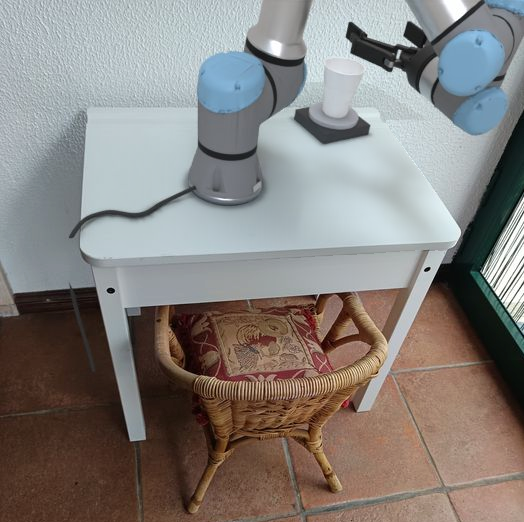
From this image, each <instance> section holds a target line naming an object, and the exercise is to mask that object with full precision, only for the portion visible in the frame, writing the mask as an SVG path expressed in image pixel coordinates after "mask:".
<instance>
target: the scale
mask: <svg viewBox="0 0 524 522" xmlns="http://www.w3.org/2000/svg"><path fill="white" fill-rule="evenodd" d="M322 107H323V101H318V102H314V103H313V104H311V105H310V106H308V107H302V108H296V109H295V111H294V118H293V119H294V120H295V121H296V122H297V123H298V124H299V125H300V126H301V127H303V128H304V129H305V130H306V131H308V132H309V133H310V134H311V135H312V136H313V137H314V138H315V139H317V140H318V141H319V142H320V143H321V144H323V145H325V144H330V143H335V142H339V141H344V140H348V139H353V138H357V137H358V138H359V137H363V136H367V135H369V133H370V129H371V124H370V123H369V122H367V121H366V120H365V119H363V118H362V117H361V116H359V114H358V112H357V111H356V110H355V109H353V108H352V107H350V108H349V111H348V113H347V115H346V116H345V117H343V118H331V117H328V116H327V115H325V114H324V112H323V110H322Z"/></svg>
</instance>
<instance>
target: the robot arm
mask: <svg viewBox="0 0 524 522" xmlns="http://www.w3.org/2000/svg"><path fill="white" fill-rule="evenodd" d="M404 1H405V2H406V4H407V6H408V7H409V9H410V11H411V13H412V14H413V16H414V18H415V20H416V21H417V23H418V25H419V26H418V25H416V23H414V22H412V21H411V20H408V21H406V25H405V28H404V32H403V35H402V37H403V38H404V39H406V40H407V41H409V42H410V43H411V44H413V45H414V46H407V45H405V44H400V43H397V44H395V45H393V44H390V43H387V42H384V41H380V40H378V39H373V38H371V37H369V36H368V33H366V31H364V30H363V29H361V28H360V27H359V26H358V25H356V24H355V23H354V22H353V21H348V23H347V28H346V32H345V39H346V40H348V41H349V43H351V46H350V51H349V54H350V55H352V56H355V57H358V58H359V59H362V60H364V61H367V62H368V63H371V64H373V65H375V66H376V67H377V66H378V67H379V68H382V69H383V70H384V71H385V72H387V73H393V71H394V69H395V68H396V69H400V70H401V71H402V72H404V73H405V75H406V79H407V83H408V84H409V86H410V87H411V88H413V89H414V90H415V91H416V92H417V93H419V94H420V95H421V96H422V97H423V98H425V99H426V100H427V101H428V102H429V103H431V104H432V105H433V107H434V108H435V109H437V110H438V111H439V112H440V113H442V114H443V115H444V116H445V117H446V118H447V119H449V120H450V121H451V122H452V124H453V125H454V126H455V127H458V128H459V129H460V130H462V131H463V132H465V133H466V134H468V135H470V136H476V137H477V136H481V135H485V134H487V133H488V132H490V131H492V130H493V129H494V128H495V127H496V126H497V125H498V124H499V123H500V122H501V121H502V119H503V118H504V116H505V115H506V112H507V110H508V101H509V99H508V95H507V94H506V93H505V91H504V89H503V88H502V85H503V83H504V81H505V78H506V75H507V72H508V70H509V68H510V66H511V63H512V62H513V60H514V57H515V55H516V53H517V51H518V49H519V47H520V45H521V43H522V41H523V39H524V0H404ZM313 2H314V0H262V1H261V6H260V11H259V16H258V21H257V23H256V24H254V25H252V26H251V27H249V28H248V29H247V32H246V38H245V41H244V47H243V51H238V50H234V51H233V50H230V51H228V52H223V51H221V52H217V53H215V54H213V55H211V56H209V57H208V58H206V59H204V61H203V62H202V63H201V66H200V67H199V70H198V75H197V76H198V77H197V78H198V79H197V84H196V97H197V148H196V149H195V153H194V156H193V158H192V162H191V164H190V167H189V171H188V186H189V187H187V188H186V189H184V190H181V191H179V192H177V193H175V194H173V195H171V196H168V197H167V198H164V199H162V200H161V201H159V202H157V203H156V204H154V205H153V206H151V207H150V208H148V209H146V210H144V211H140V212H128V211H122V210H116V209H106V210H101V211H97V212H94V213H90V214H88V215H86V216H85V217H83V218H82V219H81V220H79V221H78V223H76V225H75V226H74V227H73V229H72V230H71V231H70V234H69V236H68V239H74V238H75V236H76V235H77V233H78V232H79V230H80V229H81V228H82V227H83V226H84V225H85V224H86V223H87V222H88V221H90V220H93V219H94V218H98V217H101V216H106V215H115V216H121V217H127V218H140V217H144V216H147V215H149V214H151V213H153V212H154V211H156V210H158V209H159V208H160V207H162V206H164V205H166V204H168V203H170V202H173V201H174V200H176V199H178V198H180V197H182V196H185V195H187V194H189V193H191V192H193V194H195V195H196V196H197V197H198V198H200V199H202V200H203V201H206V202H208V203H212V204H216V205H220V206H221V205H222V206H237V205H238V206H239V205H243V204H247V203H249V202H251V201H253V200H255V199H256V198H257V197H259V195H260V194H261V192H262V188H263V173H262V170H261V169H262V168H261V164H260V161H259V156H258V145H259V136H260V135H259V133H260V127H261V125H262V124H263V123H265V122H266V121H267V120H269V119H270V118H272V117H274V116H275V115H277V114H278V113H279V112H281V111H282V110H284V109H286V108H288V107H289V106H290V105H292V104H293V103H294V102H295V101H296V99H297V98H298V97H299V96H300V94H301V93H302V91H303V90H304V87H305V85H306V82H307V77H308V65H307V63H306V62H305V60H306V59H305V58H306V56H307V52H308V51H307V50H308V48H307V45H306V42H305V41H304V38H303V36H304V33H305V30H306V26H307V24H308V23H307V22H308V19H309V16H310V13H311V9H312V5H313ZM399 51H400V53H399ZM398 54H399V57H397V56H398ZM68 285H69V291H70V297H71V301H72V302H71V303H72V306H73V310H74V313H75V314H74V315H75V317H76V321H77V324H78V327H79V330H80V333H81V336H82V340H83V344H84V346H85V349H86V353H87V356H88V359H89V363H90V367H91V371H92V373H95V372H96V366H95V361H94V358H93V354H92V350H91V347H90V344H89V340H88V337H87V334H86V330H85V328H84V323H83V321H82V317H81V314H80V310H79V306H78V301H77V297H76V294H75V291H74V289H73V287H72V285H71V283H70V282H68Z"/></svg>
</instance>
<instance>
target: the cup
mask: <svg viewBox="0 0 524 522" xmlns="http://www.w3.org/2000/svg"><path fill="white" fill-rule="evenodd" d="M366 72H367V68H366V66H365V65H364V63H362V62H361V61H359V60H356V59H354V58H351V57H347V56H330V57H327V58H325V59H324V60H323V88H322V89H323V90H322V91H323V92H322V102H323V107H322V110H323V112H324V114H325V115H327V116H328V117H331V118H343V117H345V116H346V115H347V113H348V111H349V108H351V105H352V103H353V100H354V98H355V95H356V93H357V91H358V88H359V86H360V84H361V81H362V80H363V76H364V74H365V73H366Z"/></svg>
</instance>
